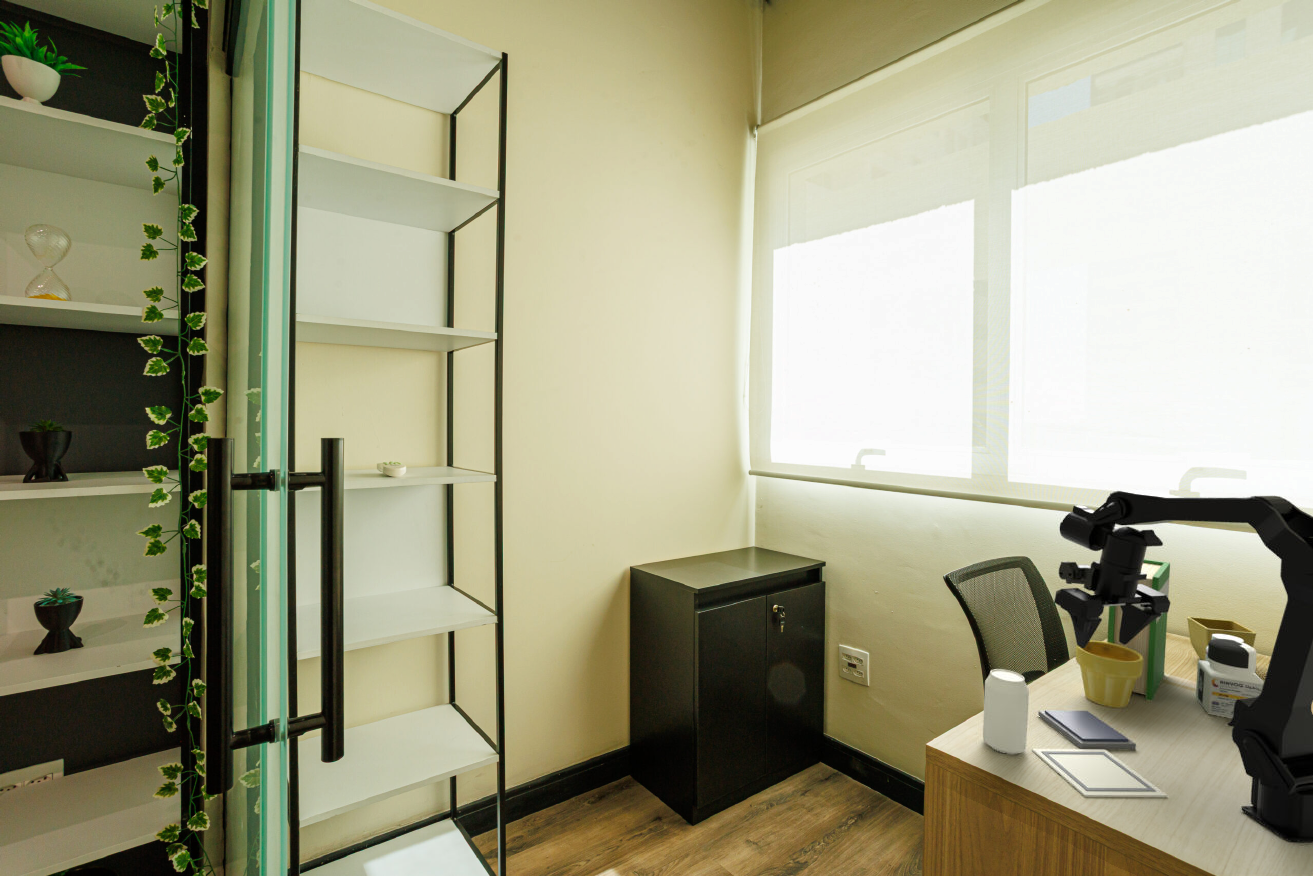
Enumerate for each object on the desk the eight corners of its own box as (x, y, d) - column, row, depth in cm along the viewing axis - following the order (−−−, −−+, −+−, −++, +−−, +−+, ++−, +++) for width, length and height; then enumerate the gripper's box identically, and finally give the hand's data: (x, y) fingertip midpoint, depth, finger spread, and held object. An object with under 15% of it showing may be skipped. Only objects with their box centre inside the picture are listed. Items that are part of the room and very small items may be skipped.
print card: (1167, 797, 88) (1167, 794, 88) (1084, 797, 88) (1085, 794, 88) (1104, 751, 100) (1104, 748, 100) (1031, 750, 100) (1032, 748, 100)
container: (1207, 715, 113) (1212, 645, 113) (1195, 698, 120) (1198, 632, 119) (1264, 725, 110) (1269, 654, 109) (1247, 707, 116) (1252, 640, 116)
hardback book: (1151, 701, 118) (1158, 577, 117) (1104, 688, 124) (1111, 570, 123) (1163, 674, 131) (1170, 562, 130) (1120, 664, 136) (1126, 556, 135)
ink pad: (1135, 749, 101) (1136, 741, 101) (1081, 749, 100) (1081, 741, 100) (1087, 716, 112) (1087, 708, 112) (1038, 716, 111) (1038, 708, 111)
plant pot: (1145, 718, 111) (1148, 665, 111) (1076, 704, 116) (1079, 653, 116) (1135, 696, 120) (1137, 646, 120) (1071, 683, 125) (1073, 636, 125)
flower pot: (1205, 669, 134) (1207, 628, 134) (1184, 654, 143) (1186, 615, 142) (1255, 674, 132) (1257, 633, 131) (1230, 659, 140) (1233, 620, 140)
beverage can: (1022, 742, 102) (1025, 671, 102) (1029, 761, 97) (1032, 686, 96) (980, 734, 105) (983, 664, 104) (984, 752, 99) (988, 679, 98)
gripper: (1119, 542, 115) (1102, 619, 118) (1037, 545, 110) (1021, 625, 113) (1182, 567, 104) (1160, 651, 107) (1093, 572, 100) (1074, 659, 103)
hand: (1101, 645), depth 108 cm, fingers open, 9 cm apart
